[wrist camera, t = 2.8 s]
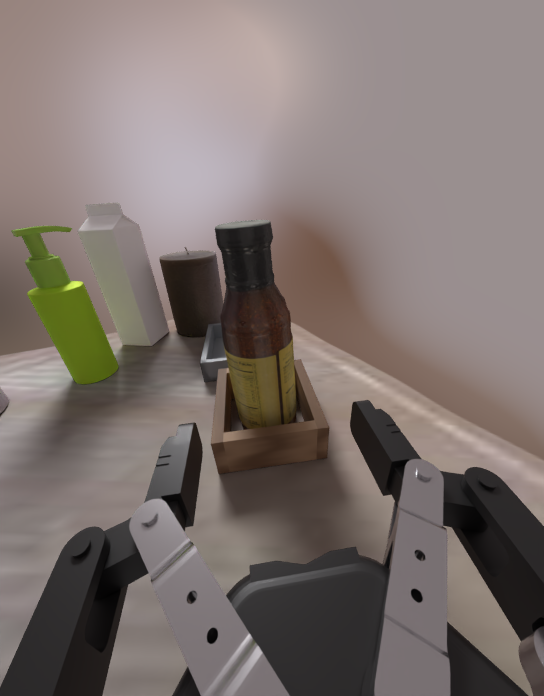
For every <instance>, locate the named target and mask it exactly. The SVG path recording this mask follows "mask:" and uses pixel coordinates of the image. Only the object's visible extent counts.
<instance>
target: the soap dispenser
mask: <svg viewBox="0 0 544 696" xmlns="http://www.w3.org/2000/svg"><path fill="white" fill-rule="evenodd" d="M71 229H72V228H68V227H60V226H36V227H29V228H22V229H17V230H12V233H13V235H14V236H16V237H18V236H22V238H23V240H24V242H25V244H26V246H27V248H28V250H29V252H30V254H31V256H32V257H29V260H26V261H25V263H26V265H27V267H28V269H29V271H30V273H31V275H32V277H33V279H34V281H35V283H36V285H37V286H38V287H37V288H35V289H33V290H31V291H29V292H28V293H27V295H28V297H29V299H30V300H31V302H32V304H33V306H34V308H35V309H36V311H37V313H38V315H39V317H40V319H41V321H42V322H43V324H44V326H45V328H46V330H47V332H48V333H49V335H50V337H51V339H52V341H53V343H54V344H55V346H56V348H57V350H58V352H59V354H60V355H61V357H62V359H63V361H64V363H65V365H66V366H67V368H68V370H69V372H70V374H71V376H72V377H73V379H74V381H75V382H76V383H78V384H91V383H95V382H98V381H101V380H104V379H106V378H108V377H109V376H111V375H112V374H114V373H115V372H116V371H117V369H118V363H117V361H116V358H115V356H114V354H113V351H112V349H111V347H110V344H109V342H108V340H107V337H106V335H105V333H104V330H103V328H102V326H101V323H100V321H99V318H98V316H97V314H96V312H95V309H94V307H93V304H92V302H91V300H90V297H89V295H88V293H87V290H86V288H85V286H84V283H83V282H80V281H70V279H69V277H68V274H67V272H66V270H65V268H64V266H63V263H62V261H61V259H60V257H59V256H54V255H53V254H49V252H48V250H47V248H46V246H45V244H44V241H43V239H42V237H41V235H40V233H44V232H52V231H61V232H70V231H71Z"/></svg>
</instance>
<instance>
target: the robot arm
mask: <svg viewBox="0 0 544 696" xmlns="http://www.w3.org/2000/svg"><path fill="white" fill-rule="evenodd" d="M8 402H9V400H8V397H7V396H6V394H5V393H4V392H3V390H2V389H1V388H0V413H1V412H2V411H3V410H4V409H5V408H6V406H7V405H8ZM350 427H351V432H352V435H353V437H354V439H355V441H356V443H357V445H358V447H359V449H360V451H361V453H362V455H363V457H364V459H365V461H366V463H367V465H368V467H369V469H370V471H371V473H372V475H373V477H374V479H375V481H376V483H377V485H378V487H379V489H380V490H381V492H382V494H383V496H385V495H391V494H392V496H393V498H394V500H395V502H394V507H393V512H392V518H391V524H390V530H389V535H388V541H387V546H386V550H385V555H384V559H383V564H381V563H379V562H377V561H375V560H373V559H371V558H368V557H365V556H361V555H358V552H357V549H356V547H351V548H345V549H340V550H334V551H330V552H328V553H326V554H324V555H322V556H321V557H319V558H317V559H315V560H313V561H311V562H310V563H308V564H296V563H289V562H282V561H272V562H267V563H261V564H255V565H250V574H249V575H248V576H246V577H244V578H243V579H242V580H240V581H239V582H238V583H237V584H236V585H235V586H234V587H233V588H232V589H231V590H230V591H229V592H228V593H227V595H225V593H224V592H223V590H222V589H221V587H220V585H219V584H218V582H217V581H216V579H215V577H214V576H213V574H212V573H211V571H210V569H209V568H208V566H207V565H206V563H205V561H204V560H203V558H202V557H201V555H200V553H199V552H198V550H197V549H196V547H195V546H194V544H193V543H191V541H190V540H189V538H188V537H187V535H186V534H185V527H190V526H193V524H194V516H195V509H196V501H197V493H198V486H199V478H200V471H201V463H202V453H203V452H202V443H201V439H200V436H199V432H198V429H197V425H196V423H188V424H181V425H179V426H178V430H177V434H176V436H174V437H168V439H167V440H166V441H165V443H164V444H163V445H162V447H161V450H160V453H159V459H158V460H157V463H156V467H155V470H154V473H153V476H152V480H151V483H150V486H149V490H148V493H147V496H146V499H145V502H144V504H142V505H141V506H140V507H139V508H138V509H137V510H136V511H135V512H134V514H133V515H132V517H131V518H130V519H128V520H127V521H125V522H123V523H121V524H118V525H116V526H114V527H112V528H110V529H108V530H106V531H103V530H102V529H101V528H99V527H89V528H86V529H84V530H82V531H80V532H79V533H77V534H76V535H75V536H73V537H72V538H71V539H70V540H69V541H68V542H67V544H66V545H65V546H64V548H63V549H62V551H61V553H60V555H59V558H58V560H57V562H56V564H55V567H54V569H53V571H52V573H51V576H50V578H49V580H48V582H47V584H46V587H45V589H44V591H43V593H42V596H41V598H40V600H39V602H38V604H37V607H36V609H35V611H34V613H33V616H32V618H31V620H30V622H29V625H28V627H27V629H26V631H25V633H24V636H23V638H22V640H21V642H20V645H19V647H18V649H17V651H16V653H15V656H14V658H13V660H12V662H11V665H10V667H9V669H8V671H7V674H6V676H5V678H4V680H3V682H2V685H1V687H0V696H102V694H103V690H104V686H105V681H106V677H107V673H108V669H109V664H110V660H111V656H112V652H113V647H114V643H115V639H116V634H117V630H118V626H119V622H120V617H121V613H122V609H123V605H124V600H125V596H126V592H127V587H128V584H130V583H132V582H134V581H135V580H137V579H139V578H141V577H143V576H144V575H146V574H148V573H149V575H150V577H151V583H152V586H153V588H154V590H155V593H156V595H157V597H158V599H159V602H160V604H161V606H162V609H163V611H164V613H165V615H166V618H167V620H168V622H169V624H170V627H171V629H172V631H173V633H174V636H175V638H176V640H177V643H178V645H179V647H180V649H181V652H182V654H183V656H184V658H185V661H186V663H187V665H188V667H187V669H186V671H185V673H184V674H183V676H182V678H181V680H180V682H179V684H178V686H177V688H176V690H175V691H174V693H173V695H172V696H528V695H527V694H526V693H525V692H524V691H523V690H522V689H521V688H520V687H519V686H518V685H516V684H515V683H514V682H513V681H512V680H511V679H510V678H509V677H508V676H507V675H505V674H504V673H503V672H502V671H501V670H500V669H499V668H498V667H497V666H495V665H494V664H493V663H492V662H491V661H490V660H489V659H488V658H487V657H486V656H484V655H483V654H482V653H481V652H480V651H479V650H478V649H477V648H476V647H475V646H473V645H472V644H471V643H470V642H469V641H468V640H467V639H466V638H465V637H464V636H462V635H461V634H460V633H459V632H458V631H457V630H456V629H455V628H454V627H453V626H451V625H450V624H449V623H448V622H447V530H446V528H444V527H443V526H449V527H452V528H453V530H454V532H455V533H456V535H457V537H458V538H459V540H460V542H461V543H462V545H463V546H464V548H465V550H466V551H467V553H468V555H469V556H470V558H471V560H472V561H473V563H474V565H475V566H476V568H477V569H478V571H479V573H480V574H481V576H482V578H483V579H484V581H485V583H486V584H487V586H488V588H489V589H490V591H491V592H492V594H493V596H494V597H495V599H496V601H497V602H498V604H499V606H500V607H501V609H502V611H503V612H504V614H505V615H506V617H507V619H508V620H509V622H510V624H511V625H512V627H513V629H514V630H515V632H516V634H517V635H518V637H519V638H520V640H521V643H520V645H519V658H520V662H521V665H522V668H523V670H524V672H525V674H526V677H527V679H528V681H529V683H530V686H531V688H532V692H533V696H544V526H543V525H542V524H541V523H540V522H539V520H538V519H537V518H536V517H535V516H534V515H533V514H532V513H531V512H530V510H529V509H528V508H527V507H526V506H525V505H524V504H523V503H522V501H521V500H520V499H519V498H518V497H517V496H516V495H515V494H514V493H513V491H512V490H511V489H510V488H509V487H508V486H507V485H506V484H505V482H504V481H503V480H502V479H501V478H499V477H498V476H497V475H495V474H494V473H492V472H491V471H488V470H486V469H483V468H479V467H472V468H469V469H467V470H466V472H465V474H464V475H463V474H456V473H449V472H443V471H439V470H438V468H437V467H435V466H434V465H433V464H431V463H429V462H427V461H425V460H422V459H421V458H420V457H419V455H418V454H417V452H416V451H415V450H414V448H413V447H412V446H411V444H410V443H409V441H408V440H407V439H406V437H405V436H404V435H403V433H402V432H401V430H400V429H399V428H398V426H397V425H396V424H395V422H394V421H393V419H392V418H391V417H390V415H388V414H387V413H386V412H384V411H383V410H381V409H375V408H374V406H373V405H372V404H371V402H370V401H369V400H365V401H357V402H353V405H352V413H351V421H350Z"/></svg>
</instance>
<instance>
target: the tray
mask: <svg viewBox="0 0 544 696" xmlns="http://www.w3.org/2000/svg"><path fill="white" fill-rule="evenodd" d="M200 365H201V369H202V373H203V378H204V382H209V381H217V378H218V369H224V368H228V363H227V358H226V354H225V349H224V344H223V338H222V328H221V323H217V324H208V329H207V334H206V338H205V343H204V347H203V352H202V357H201V361H200Z"/></svg>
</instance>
